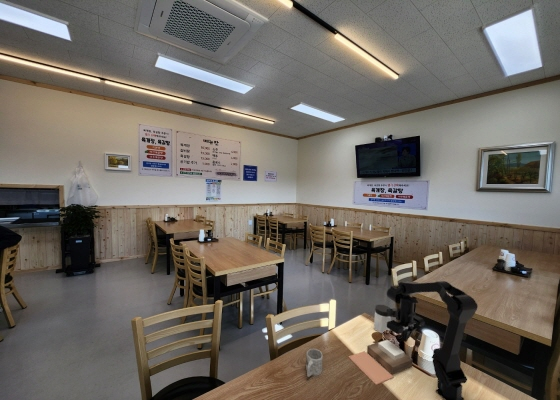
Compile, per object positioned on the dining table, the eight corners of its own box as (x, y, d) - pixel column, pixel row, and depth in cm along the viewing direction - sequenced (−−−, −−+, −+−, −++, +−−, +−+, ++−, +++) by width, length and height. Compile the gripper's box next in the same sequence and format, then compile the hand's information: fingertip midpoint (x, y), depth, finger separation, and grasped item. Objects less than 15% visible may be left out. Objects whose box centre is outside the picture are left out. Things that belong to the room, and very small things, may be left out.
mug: (309, 361, 101) (310, 346, 101) (324, 367, 97) (324, 352, 97) (300, 376, 92) (300, 360, 92) (315, 384, 89) (316, 367, 89)
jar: (370, 326, 128) (371, 306, 127) (380, 323, 132) (381, 303, 131) (384, 336, 120) (385, 313, 119) (394, 331, 124) (395, 310, 123)
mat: (393, 377, 93) (393, 376, 93) (376, 385, 89) (376, 384, 89) (364, 351, 108) (364, 351, 108) (348, 357, 104) (348, 356, 104)
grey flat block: (404, 356, 100) (404, 352, 100) (394, 360, 98) (394, 355, 98) (387, 343, 109) (387, 339, 108) (377, 347, 106) (378, 342, 106)
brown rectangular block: (412, 367, 99) (412, 359, 99) (392, 375, 94) (392, 367, 94) (385, 346, 112) (385, 339, 112) (367, 352, 107) (367, 345, 107)
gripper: (404, 297, 117) (403, 327, 118) (378, 304, 110) (376, 335, 110) (426, 308, 107) (424, 340, 108) (398, 315, 99) (396, 350, 100)
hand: (404, 341), depth 107 cm, fingers closed
